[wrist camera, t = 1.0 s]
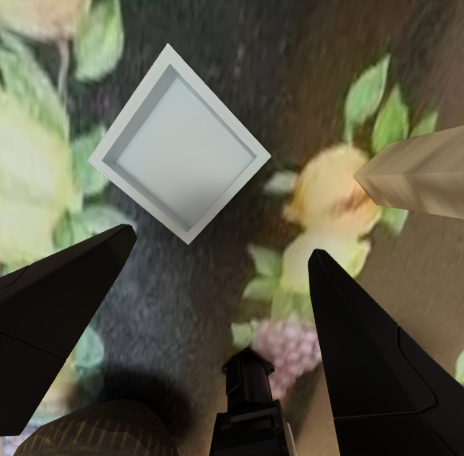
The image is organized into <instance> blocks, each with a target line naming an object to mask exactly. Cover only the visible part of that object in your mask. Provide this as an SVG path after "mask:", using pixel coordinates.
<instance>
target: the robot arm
mask: <svg viewBox="0 0 464 456" xmlns="http://www.w3.org/2000/svg"><path fill="white" fill-rule="evenodd" d="M136 240H137V236H136V234H135V232H134V230H133V228H132V226H131V225H129V224H120V225H118V226H116V227H113V228H111V229H109V230H107V231H104V232H102V233H100V234H98V235H95V236H93V237H91V238H89V239H86V240H84V241H82V242H80V243H77V244H75V245H73V246H71V247H68V248H66V249H64V250H61V251H59V252H57V253H55V254H52V255H50V256H48V257H46V258H43V259H41V260H39V261H37V262H34V263H32V264H31V265H28V266H25V267H23V268H21V269H19V270H16V271H14V272H12V273H9V274H7V275H5V276H2V277H0V437H2V436H19V435H20V434H21V433H22V431H23V430H24V428H25V427H26V425H27V424H28V422H29V420H30V419H31V417H32V416H33V414H34V412H35V411H36V409H37V407H38V406H39V404H40V402H41V401H42V399H43V398H44V396H45V394H46V393H47V391H48V389H49V388H50V386H51V385H52V383H53V381H54V380H55V378H56V376H57V375H58V373H59V372H60V370H61V368H62V367H63V365H64V363H65V362H66V359H67V358H68V357H69V355H70V353H71V352H72V350H73V348H74V347H75V345H76V344H77V342H78V340H79V339H80V337H81V335H82V334H83V332H84V331H85V329H86V327H87V326H88V324H89V322H90V321H91V319H92V318H93V316H94V314H95V313H96V311H97V309H98V308H99V306H100V305H101V303H102V301H103V300H104V298H105V296H106V295H107V293H108V291H109V290H110V288H111V287H112V285H113V283H114V282H115V280H116V278H117V277H118V275H119V274H120V272H121V270H122V269H123V267H124V265H125V263H126V261H127V259H128V257H129V255H130V253H131V251H132V249H133V246H134V244H135V242H136ZM308 272H309V287H310V297H311V303H312V308H313V313H314V319H315V324H316V329H317V334H318V340H319V345H320V350H321V356H322V361H323V366H324V371H325V377H326V382H327V387H328V392H329V398H330V403H331V408H332V413H333V418H334V425H335V430H336V435H337V441H338V446H339V451H340V456H464V387H463V386H462V385H461V384H460V383H459V382H458V381H456V380H455V379H454V378H453V377H452V376H451V375H450V374H449V373H448V372H447V371H446V370H445V369H443V368H442V367H441V366H440V365H439V364H438V363H437V362H436V361H435V360H434V359H433V358H432V357H431V356H430V355H429V354H428V353H427V352H426V351H424V350H423V349H422V348H421V347H420V346H419V345H418V344H417V343H416V342H415V341H414V340H413V339H412V338H411V337H410V336H409V335H408V334H407V333H406V332H405V331H404V330H403V329H402V328H401V327H400V326H398V324H397V323H396V322H395V321H394V320H393V319H392V318H391V317H390V316H389V314H388V313H387V312H386V311H385V310H384V309H383V308H382V307H381V306H380V305H379V304H378V303H377V302H376V301H375V300H374V299H373V298H372V297H371V296H370V295H369V294H368V293H367V292H366V291H365V290H364V289H363V288H362V287H361V286H360V285H359V284H358V283H357V282H356V281H355V280H354V279H353V278H352V277H351V276H350V275H349V274H348V273H347V272H346V271H345V270H344V269H343V268H342V267H341V266H340V265H339V264H338V263H337V262H336V261H335V260H334V259H333V258H332V257H331V256H330V255H329V254H328V253H327V252H326V251H325V250H323V249H314V250H313V252H312V254H311V256H310V258H309V261H308ZM274 371H275V369H274V366H273V365H271V364H270V363H269V362H267V361H266V360H265V359H263V358H262V357H260V356H259V355H258V354H256V353H255V352H254V351H252V350H251V349H250V348H246V349H245V350H243V351H242V352H241V353H240V354H239V355H237V356H236V357H235V358H234V359H232V360H231V361H230V362H229V363H227V364H226V365H225V366H224V367H222V371H221V372H222V373H223V374H224V375H226V395H227V396H228V404H227V412H225V413H217V417H216V421H215V426H214V432H213V437H212V443H211V448H210V454H209V456H294V451H293V445H292V440H291V437H290V433H289V429H288V425H287V421H286V418H285V415H284V412H283V410H282V407H281V404H280V401H279V399H277V400H275V401H273V399H272V394H271V389H270V384H269V378H268V376H269V375H270V374H271V373H273V372H274Z"/></svg>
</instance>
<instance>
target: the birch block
mask: <svg viewBox="0 0 464 456" xmlns="http://www.w3.org/2000/svg"><path fill="white" fill-rule="evenodd" d="M353 177H354V178H355V180H356V181H357V182H358V183H359V184H360V186H361V187H362V188H363V189H364V191H365V192H366V193H367V194H368V195H369V197H370V198H371V199H372V200H373V201H374V203H375V204H376V205H380V206H387V207H393V208H399V209H405V210H411V211H417V212H423V213H429V214H436V215H442V216H448V217H454V218H460V219H464V125H463V126H459V127H455V128H451V129H447V130H443V131H438V132H434V133H430V134H426V135H422V136H417V137H413V138H409V139H405V140H401V141H396V142H392V143H388V144H387V145H386V146H385V147H384V148H383V149H382V150H381V151H380V152H379V153H378V154H377V155H375V156H374V157H373V158H372V159H371V160H370V161H369V162H368V163H367V164H366V165H365V166H363V167H362V168H361V169H360V170H359V171H358V172H357V173H356V174H355V175H354V176H353Z"/></svg>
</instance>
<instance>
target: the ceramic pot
mask: <svg viewBox="0 0 464 456" xmlns="http://www.w3.org/2000/svg"><path fill="white" fill-rule="evenodd" d="M13 456H179V454H178V452H177V449H176V447H175V445H174V443H173V441H172V439H171V437H170V435H169V433H168V431H167V429H166V428H165V426H164V424H163V422H162V421H161V420H160V419H159V417H158V416H157V415H156V414H155V413H154V412H153V411H152V410H151V409H150V408H149V407H148V406H147V405H146V404H143V403H140V402H138V401H135V400H132V399H115V400H109V401H104V402H101V403H97V404H94V405H90V406H86V407H84V408H82V409H79V410H77V411H75V412H72V413H70V414H68V415H66V416H63V417H61V418H59V419H56V420H54V421H52V422H49V423H47V424H45V425H42V426H40V427H39V428H38V429H37V430H36V431H35V432H34V433H33V434H31V435H30V436H29V437H28V438H27V439H26V440H25V441H24V442H23V443H22V444H21V445H20V446H19V447H18V448H17V450H16V452H15V454H14V455H13Z"/></svg>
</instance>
